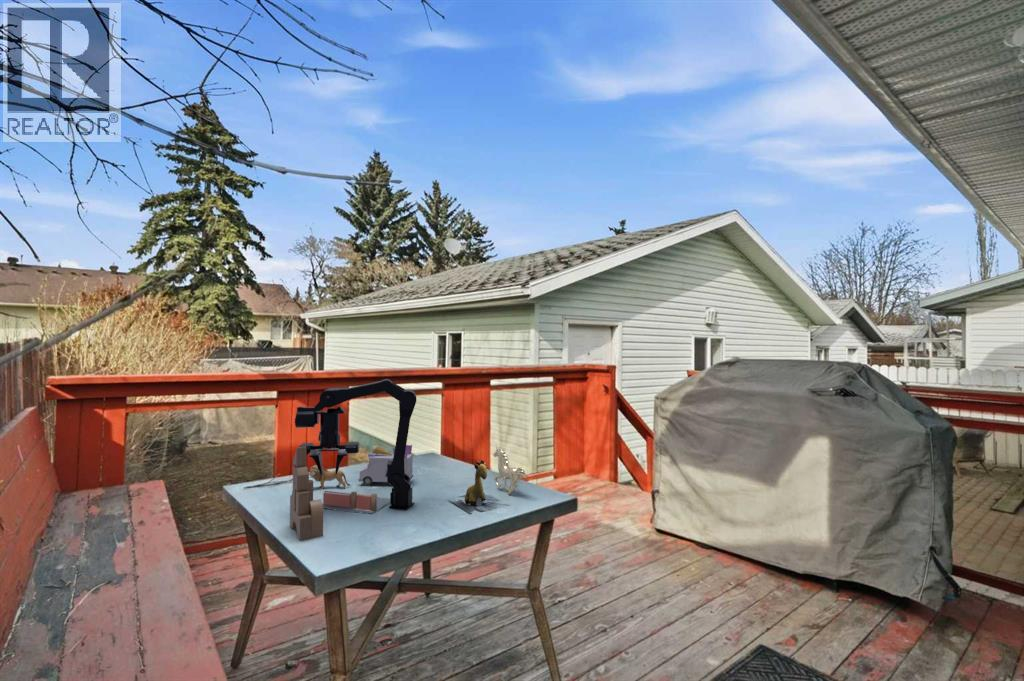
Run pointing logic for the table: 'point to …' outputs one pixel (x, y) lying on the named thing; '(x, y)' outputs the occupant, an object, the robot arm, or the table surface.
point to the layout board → (380, 503)
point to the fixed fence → (363, 501)
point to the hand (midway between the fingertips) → (329, 474)
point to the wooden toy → (304, 501)
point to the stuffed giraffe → (477, 493)
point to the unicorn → (507, 471)
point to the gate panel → (337, 498)
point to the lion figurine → (327, 476)
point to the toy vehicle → (383, 465)
